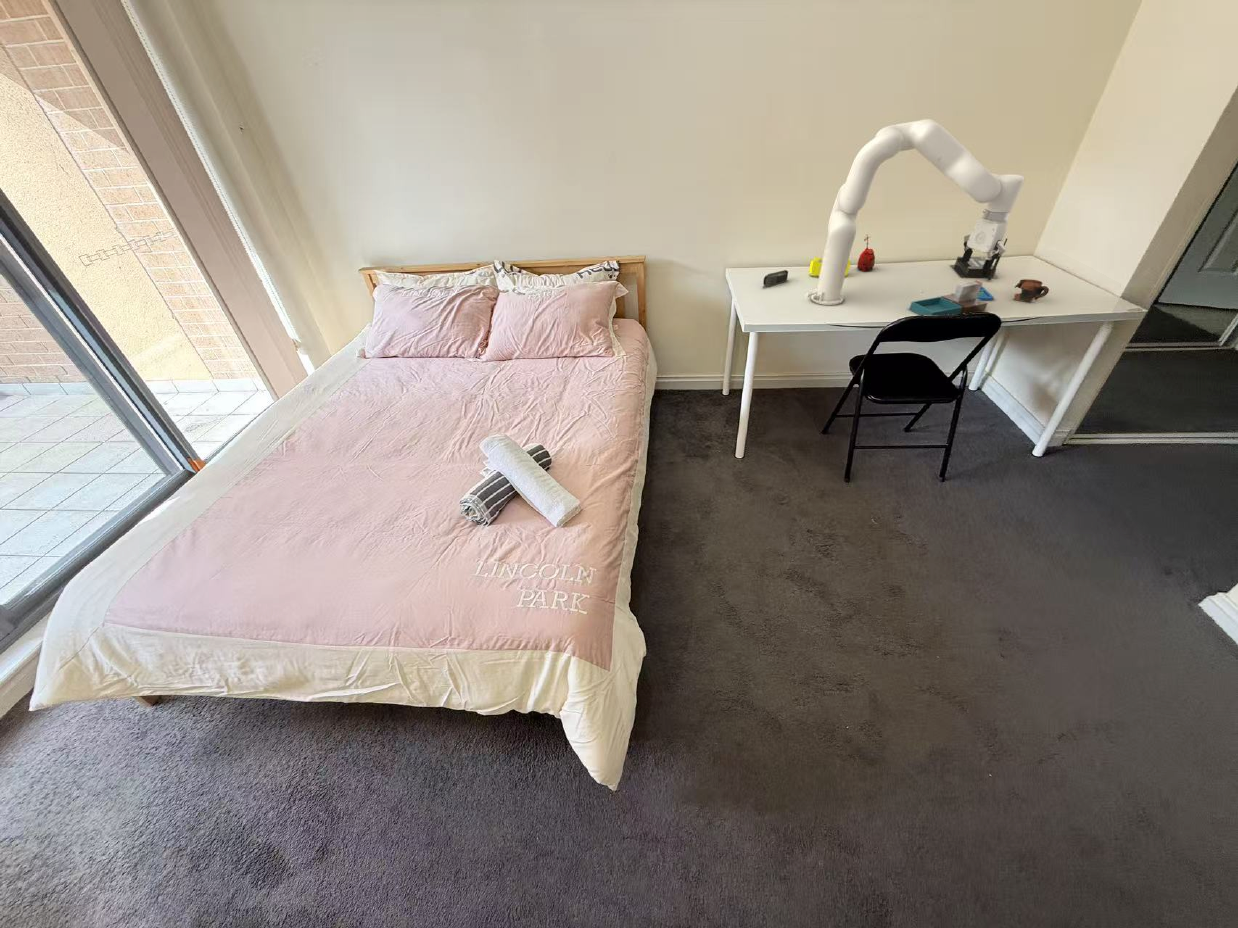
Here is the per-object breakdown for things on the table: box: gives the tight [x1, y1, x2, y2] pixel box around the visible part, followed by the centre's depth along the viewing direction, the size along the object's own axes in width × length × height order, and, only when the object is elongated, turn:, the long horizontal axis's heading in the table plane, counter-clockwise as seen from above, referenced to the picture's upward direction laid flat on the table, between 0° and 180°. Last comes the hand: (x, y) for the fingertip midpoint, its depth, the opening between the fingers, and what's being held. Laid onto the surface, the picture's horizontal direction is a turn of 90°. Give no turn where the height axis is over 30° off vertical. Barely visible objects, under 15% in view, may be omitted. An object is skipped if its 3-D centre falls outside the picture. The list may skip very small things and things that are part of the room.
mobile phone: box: [762, 269, 789, 289], centre depth 218 cm, size 5×3×15 cm
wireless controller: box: [950, 237, 1008, 281], centre depth 211 cm, size 20×14×17 cm
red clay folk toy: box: [856, 234, 876, 273], centre depth 222 cm, size 8×7×15 cm
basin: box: [908, 296, 963, 316], centre depth 188 cm, size 13×11×3 cm
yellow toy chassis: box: [808, 257, 852, 278], centre depth 221 cm, size 16×6×8 cm, turn 83°
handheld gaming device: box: [977, 285, 995, 301], centre depth 200 cm, size 8×1×15 cm
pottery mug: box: [1013, 278, 1050, 303], centre depth 192 cm, size 12×10×8 cm
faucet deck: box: [940, 292, 988, 315], centre depth 190 cm, size 13×13×3 cm
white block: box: [953, 280, 984, 302], centre depth 187 cm, size 8×3×6 cm, turn 105°
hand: (974, 266), depth 181 cm, fingers open, 9 cm apart
